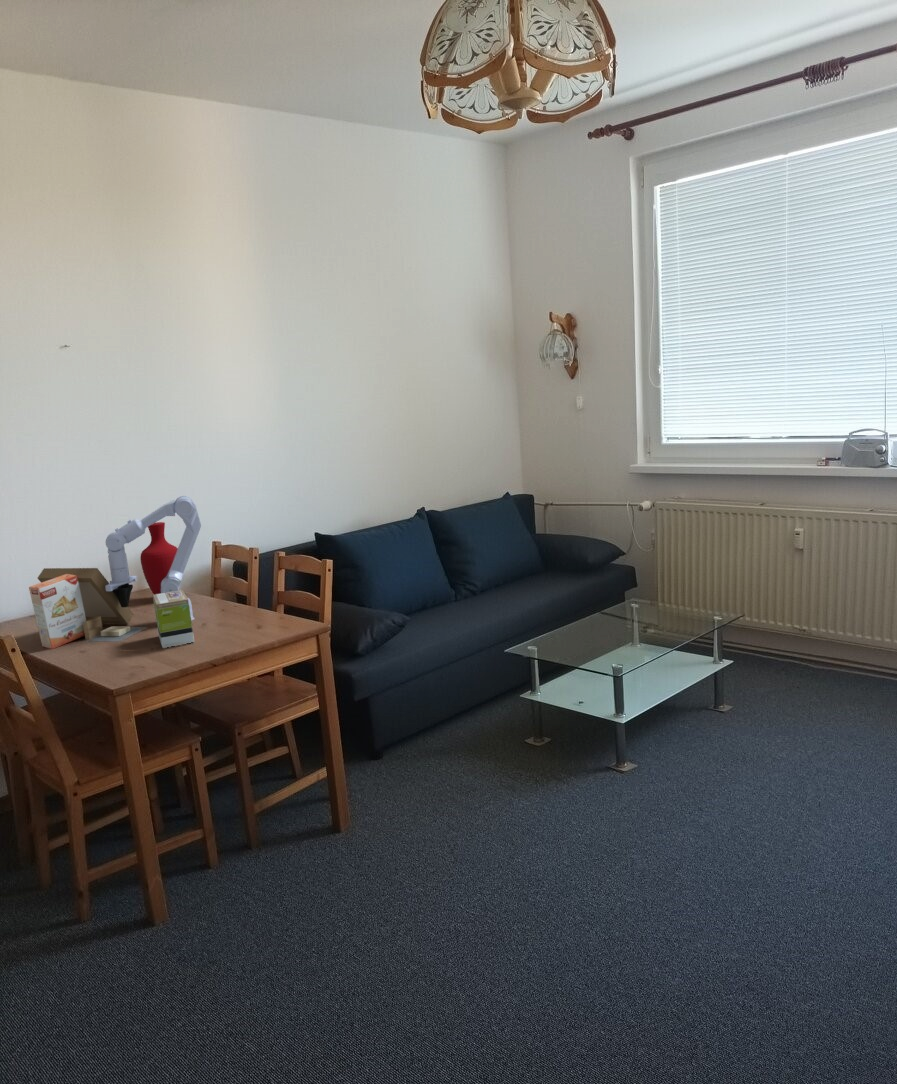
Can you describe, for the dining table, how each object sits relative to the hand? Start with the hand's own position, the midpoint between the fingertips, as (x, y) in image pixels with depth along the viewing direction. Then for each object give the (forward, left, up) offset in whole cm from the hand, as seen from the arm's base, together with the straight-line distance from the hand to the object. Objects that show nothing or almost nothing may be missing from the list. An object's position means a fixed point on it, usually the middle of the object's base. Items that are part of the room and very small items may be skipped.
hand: (125, 606), depth 289 cm
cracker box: (+12, +16, -7) cm, 21 cm away
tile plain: (+6, +10, -8) cm, 14 cm away
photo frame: (+13, -10, -2) cm, 16 cm away
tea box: (-26, +12, -8) cm, 30 cm away
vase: (+11, -41, -8) cm, 43 cm away
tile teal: (0, +4, -7) cm, 8 cm away
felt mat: (0, +7, -8) cm, 10 cm away
